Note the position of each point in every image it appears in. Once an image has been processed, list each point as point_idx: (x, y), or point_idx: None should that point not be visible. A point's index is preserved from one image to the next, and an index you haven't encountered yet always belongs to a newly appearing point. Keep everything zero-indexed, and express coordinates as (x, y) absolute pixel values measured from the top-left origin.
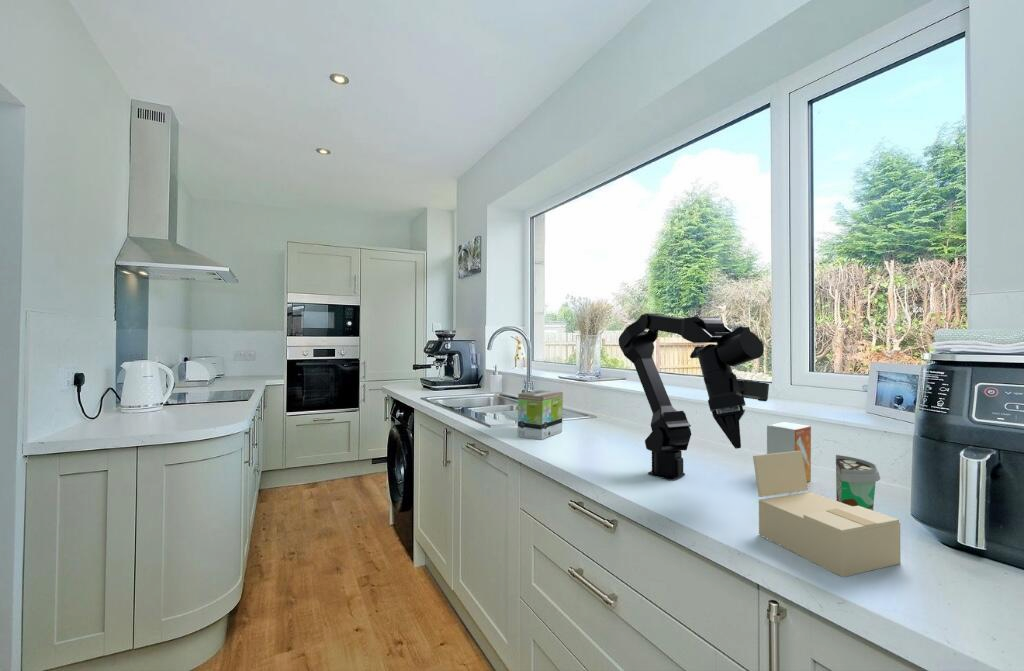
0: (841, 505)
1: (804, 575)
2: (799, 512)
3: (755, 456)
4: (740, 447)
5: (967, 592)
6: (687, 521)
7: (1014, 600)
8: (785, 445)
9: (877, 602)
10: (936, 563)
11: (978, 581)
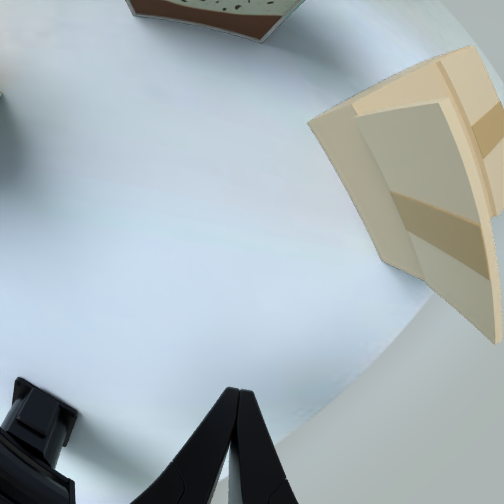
0: (429, 86)
1: None
2: None
3: (501, 337)
4: (251, 392)
5: (458, 46)
6: (336, 381)
7: (453, 16)
8: None
9: None
10: (401, 11)
11: (429, 9)
